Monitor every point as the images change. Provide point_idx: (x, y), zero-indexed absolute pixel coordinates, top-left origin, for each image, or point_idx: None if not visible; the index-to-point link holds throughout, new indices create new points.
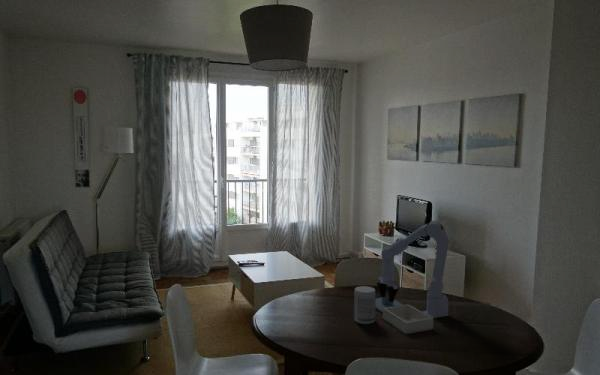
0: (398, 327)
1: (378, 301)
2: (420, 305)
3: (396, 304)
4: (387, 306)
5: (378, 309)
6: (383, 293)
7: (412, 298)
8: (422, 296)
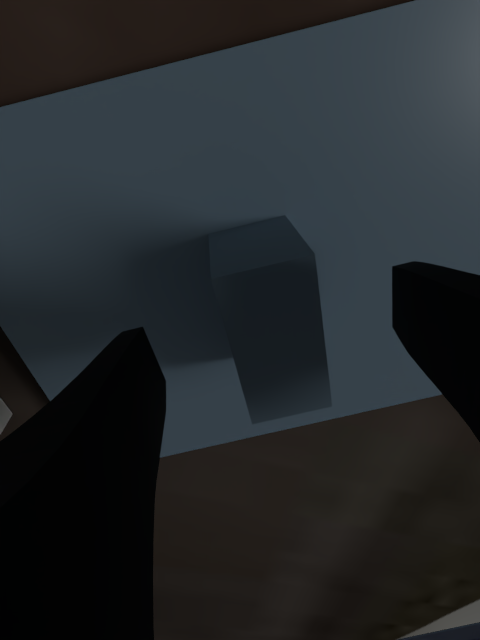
0: None
1: (395, 200)
2: (249, 530)
3: (231, 388)
4: (170, 267)
5: (96, 86)
6: (425, 332)
7: (405, 517)
8: (413, 566)
